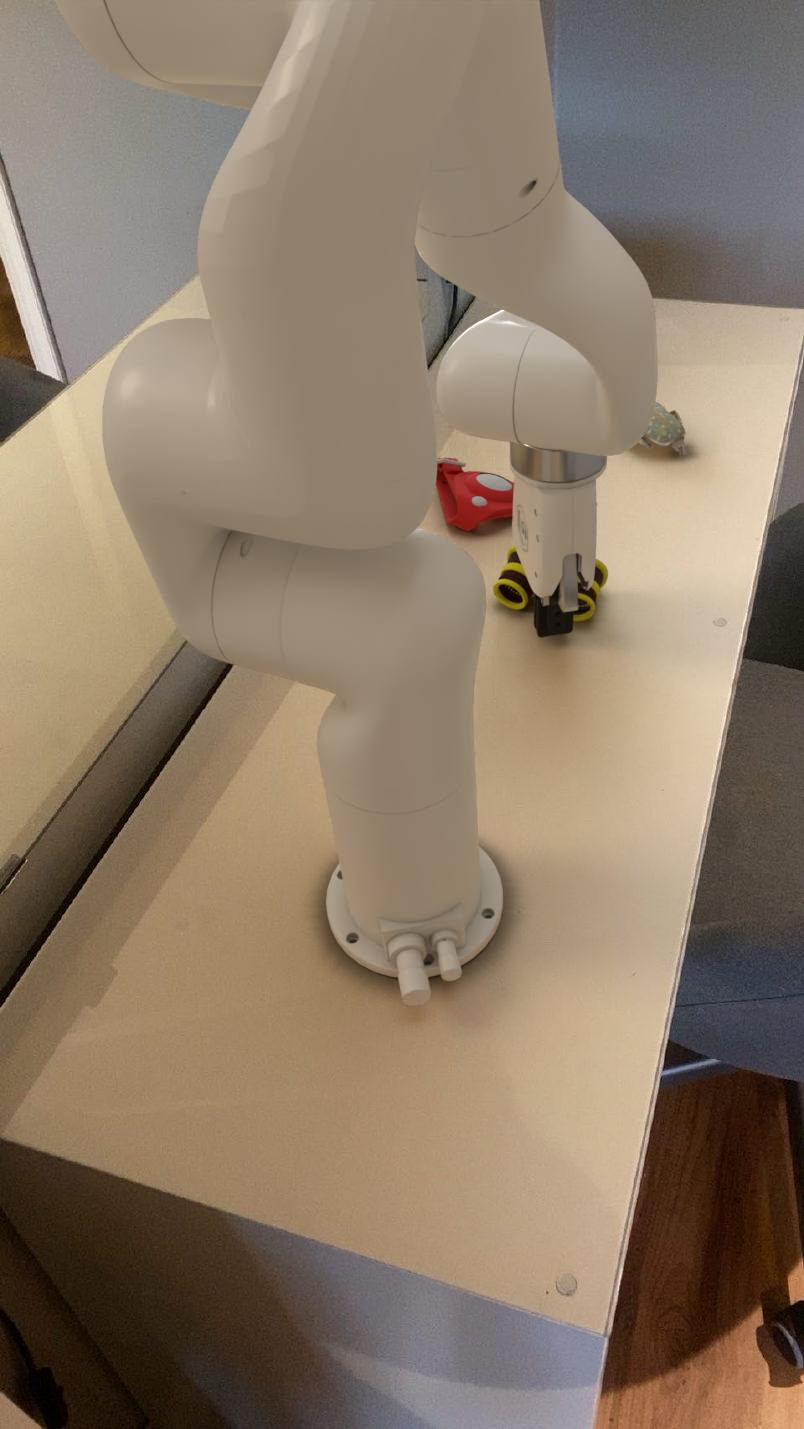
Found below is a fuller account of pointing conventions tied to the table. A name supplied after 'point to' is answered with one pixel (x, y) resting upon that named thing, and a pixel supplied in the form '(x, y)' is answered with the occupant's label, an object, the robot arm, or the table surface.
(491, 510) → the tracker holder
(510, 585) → the opera glasses
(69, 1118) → the table surface
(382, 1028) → the table surface
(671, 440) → the turtle figurine
